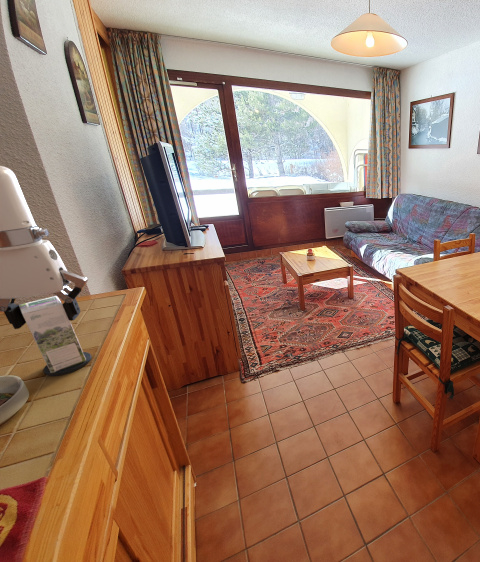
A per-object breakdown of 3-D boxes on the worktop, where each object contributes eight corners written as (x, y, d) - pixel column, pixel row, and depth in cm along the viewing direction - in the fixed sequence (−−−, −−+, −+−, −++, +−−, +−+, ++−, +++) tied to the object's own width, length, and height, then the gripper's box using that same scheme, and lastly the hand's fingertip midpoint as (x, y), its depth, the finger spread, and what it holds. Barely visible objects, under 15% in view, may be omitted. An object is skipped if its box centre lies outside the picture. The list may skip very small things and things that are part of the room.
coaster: (36, 380, 63) (35, 377, 62) (53, 358, 69) (52, 356, 69) (84, 370, 66) (83, 368, 65) (96, 350, 72) (95, 348, 72)
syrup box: (81, 351, 71) (56, 294, 65) (87, 361, 67) (62, 302, 62) (46, 363, 67) (17, 303, 61) (51, 375, 63) (20, 312, 58)
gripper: (79, 229, 63) (107, 306, 70) (-44, 236, 56) (1, 321, 63) (63, 238, 56) (96, 321, 63) (-77, 248, 50) (-24, 340, 57)
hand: (48, 321), depth 63 cm, fingers closed on syrup box, 7 cm apart
